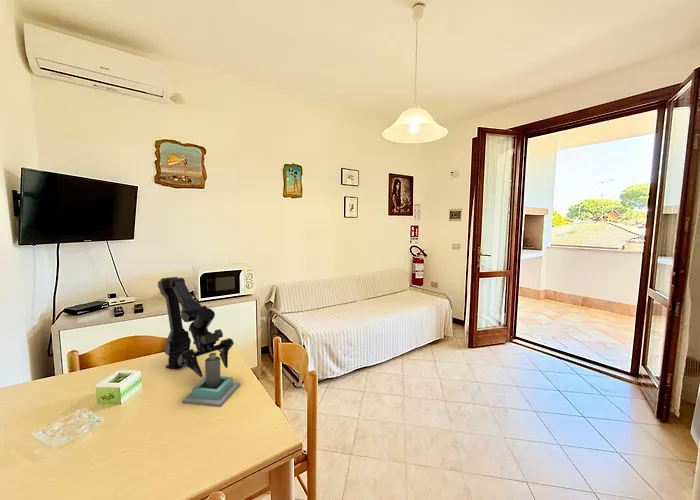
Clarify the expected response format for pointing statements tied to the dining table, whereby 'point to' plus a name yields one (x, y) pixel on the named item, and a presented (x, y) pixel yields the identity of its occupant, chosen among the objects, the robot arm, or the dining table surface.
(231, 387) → the socket
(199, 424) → the dining table surface
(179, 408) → the dining table surface
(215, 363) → the plug
